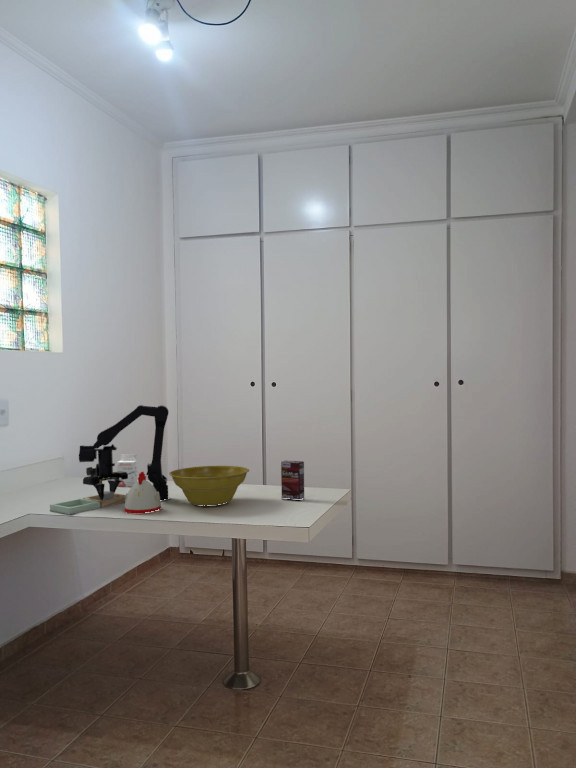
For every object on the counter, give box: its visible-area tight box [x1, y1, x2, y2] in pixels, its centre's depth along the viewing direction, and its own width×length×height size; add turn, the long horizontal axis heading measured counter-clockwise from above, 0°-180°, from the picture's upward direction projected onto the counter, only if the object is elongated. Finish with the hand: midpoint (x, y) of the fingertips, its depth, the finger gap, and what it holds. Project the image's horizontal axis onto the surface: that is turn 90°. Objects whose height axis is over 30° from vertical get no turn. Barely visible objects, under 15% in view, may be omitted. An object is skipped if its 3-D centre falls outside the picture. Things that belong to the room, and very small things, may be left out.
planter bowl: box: [168, 465, 250, 506], centre depth 268 cm, size 32×32×13 cm
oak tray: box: [82, 492, 126, 508], centre depth 274 cm, size 13×14×2 cm
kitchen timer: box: [124, 471, 162, 514], centre depth 258 cm, size 14×14×15 cm
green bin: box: [49, 498, 101, 516], centre depth 262 cm, size 13×14×2 cm
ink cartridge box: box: [116, 453, 138, 487], centre depth 314 cm, size 9×5×15 cm, turn 84°
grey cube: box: [99, 490, 114, 501], centre depth 274 cm, size 4×4×4 cm
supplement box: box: [280, 459, 305, 499], centre depth 273 cm, size 9×5×16 cm, turn 62°
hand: (106, 498), depth 274 cm, fingers closed on grey cube, 4 cm apart
